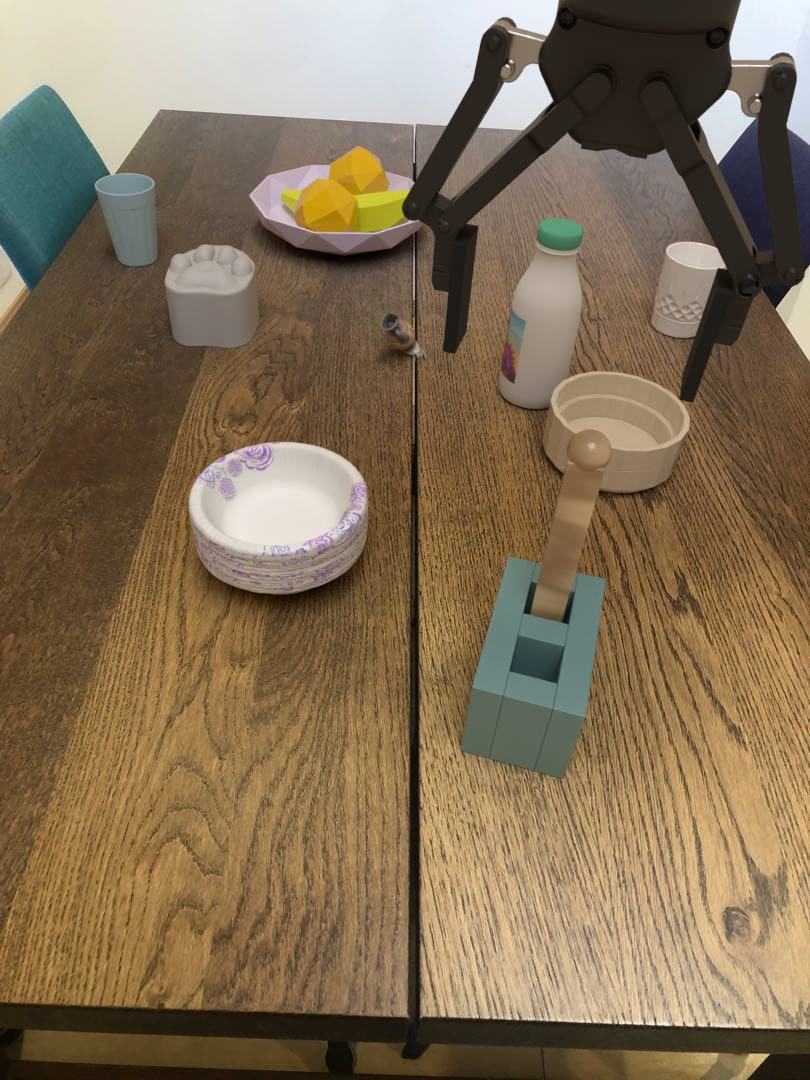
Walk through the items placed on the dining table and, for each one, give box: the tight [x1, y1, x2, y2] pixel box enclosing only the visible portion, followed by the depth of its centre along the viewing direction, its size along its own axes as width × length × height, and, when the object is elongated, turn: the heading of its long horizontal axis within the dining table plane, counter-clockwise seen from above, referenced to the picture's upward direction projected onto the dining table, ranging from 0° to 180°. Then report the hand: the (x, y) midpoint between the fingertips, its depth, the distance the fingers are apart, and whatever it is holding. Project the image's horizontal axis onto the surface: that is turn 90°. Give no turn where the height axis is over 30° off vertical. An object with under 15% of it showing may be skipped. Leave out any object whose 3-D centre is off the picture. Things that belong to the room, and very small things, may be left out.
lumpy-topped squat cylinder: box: [164, 243, 260, 349], centre depth 102 cm, size 10×13×9 cm
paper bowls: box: [187, 441, 369, 596], centre depth 72 cm, size 15×15×8 cm
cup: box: [94, 172, 159, 267], centre depth 112 cm, size 8×8×10 cm
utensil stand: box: [459, 555, 607, 780], centre depth 62 cm, size 8×13×8 cm, turn 164°
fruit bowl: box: [248, 145, 423, 257], centre depth 121 cm, size 28×27×11 cm
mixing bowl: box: [541, 370, 691, 494], centre depth 87 cm, size 14×14×6 cm
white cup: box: [650, 241, 727, 339], centre depth 107 cm, size 8×8×10 cm
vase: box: [374, 312, 428, 364], centre depth 99 cm, size 5×5×6 cm
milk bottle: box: [498, 217, 584, 410], centre depth 90 cm, size 8×8×20 cm
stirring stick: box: [530, 429, 612, 622], centre depth 59 cm, size 3×3×24 cm
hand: (568, 365), depth 47 cm, fingers open, 13 cm apart
